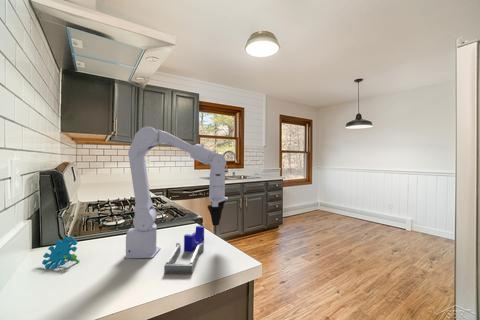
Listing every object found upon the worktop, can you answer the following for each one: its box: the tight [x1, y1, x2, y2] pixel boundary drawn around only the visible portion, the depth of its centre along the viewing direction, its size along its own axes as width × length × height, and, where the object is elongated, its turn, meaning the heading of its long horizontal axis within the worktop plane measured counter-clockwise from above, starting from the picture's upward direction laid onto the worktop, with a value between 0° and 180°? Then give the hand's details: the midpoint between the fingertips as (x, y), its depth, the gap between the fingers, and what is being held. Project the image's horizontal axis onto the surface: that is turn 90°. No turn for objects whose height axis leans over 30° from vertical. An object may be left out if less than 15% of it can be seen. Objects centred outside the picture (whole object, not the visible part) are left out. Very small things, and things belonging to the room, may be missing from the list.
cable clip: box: [183, 225, 205, 253], centre depth 87 cm, size 12×4×6 cm, turn 168°
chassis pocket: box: [163, 242, 205, 275], centre depth 74 cm, size 10×17×3 cm, turn 1°
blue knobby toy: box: [41, 236, 81, 270], centre depth 72 cm, size 11×6×10 cm
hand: (216, 222), depth 84 cm, fingers open, 7 cm apart
